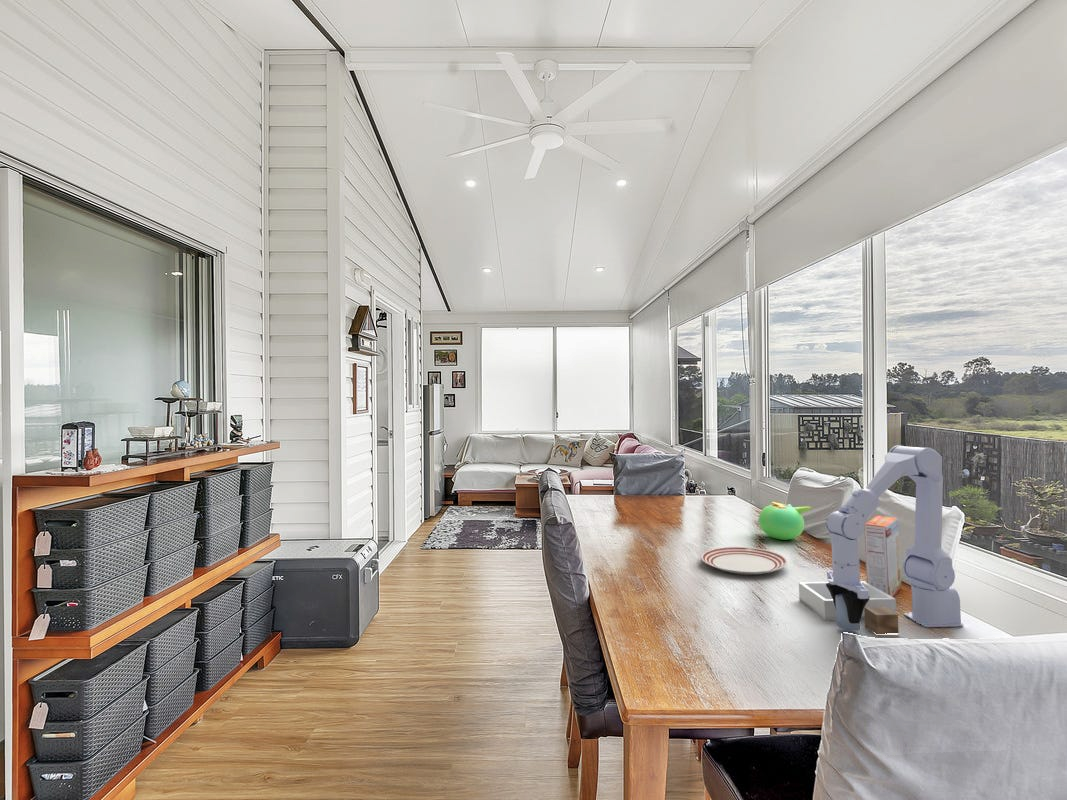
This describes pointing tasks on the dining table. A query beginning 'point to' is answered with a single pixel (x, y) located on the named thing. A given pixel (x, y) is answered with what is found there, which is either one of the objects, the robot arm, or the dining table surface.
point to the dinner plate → (744, 560)
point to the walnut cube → (881, 620)
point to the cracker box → (883, 554)
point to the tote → (823, 604)
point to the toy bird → (782, 520)
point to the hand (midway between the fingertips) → (848, 618)
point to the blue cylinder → (844, 615)
